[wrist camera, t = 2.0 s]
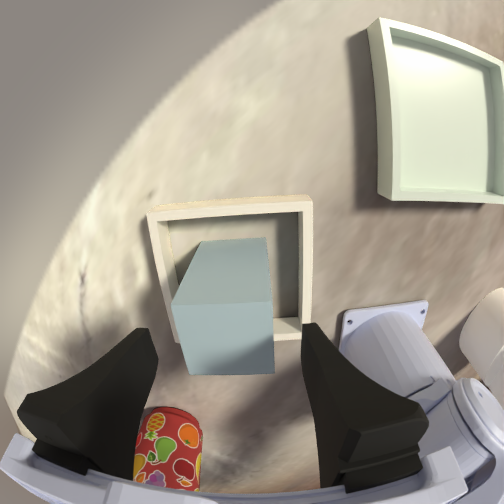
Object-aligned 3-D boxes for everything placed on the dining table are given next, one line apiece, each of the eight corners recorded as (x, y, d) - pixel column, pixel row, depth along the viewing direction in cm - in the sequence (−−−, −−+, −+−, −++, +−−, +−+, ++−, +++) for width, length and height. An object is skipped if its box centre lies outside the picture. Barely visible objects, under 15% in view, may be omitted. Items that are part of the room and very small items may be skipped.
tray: (490, 197, 17) (507, 204, 15) (377, 193, 18) (391, 200, 16) (486, 64, 13) (502, 61, 11) (366, 28, 13) (379, 17, 11)
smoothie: (149, 431, 29) (116, 562, 11) (133, 393, 26) (79, 552, 7) (213, 440, 29) (198, 581, 11) (208, 403, 26) (184, 584, 7)
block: (268, 294, 21) (274, 373, 13) (209, 296, 21) (189, 374, 14) (266, 237, 19) (272, 301, 12) (201, 241, 19) (170, 305, 12)
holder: (305, 322, 22) (309, 338, 20) (180, 327, 22) (175, 342, 20) (306, 194, 18) (312, 201, 16) (156, 205, 18) (146, 213, 16)
